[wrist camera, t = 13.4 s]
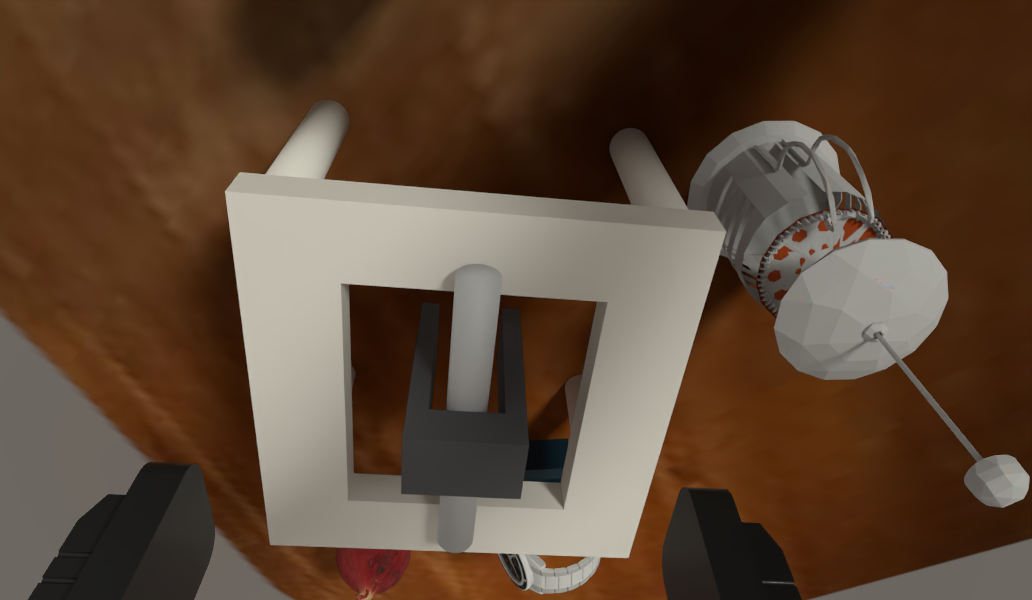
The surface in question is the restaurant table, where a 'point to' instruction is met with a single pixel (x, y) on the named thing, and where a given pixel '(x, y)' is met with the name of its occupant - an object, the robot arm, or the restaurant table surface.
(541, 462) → the watch
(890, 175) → the restaurant table surface
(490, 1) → the restaurant table surface
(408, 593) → the restaurant table surface
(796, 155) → the french press
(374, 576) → the onion
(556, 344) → the restaurant table surface
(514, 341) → the grey u-shaped bracket
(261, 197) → the square frame stand
